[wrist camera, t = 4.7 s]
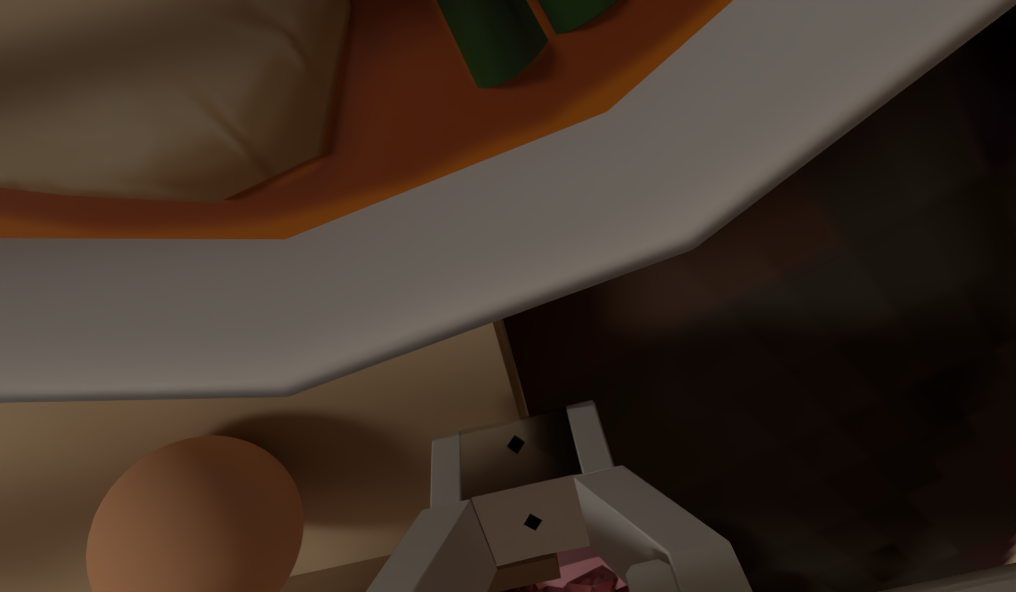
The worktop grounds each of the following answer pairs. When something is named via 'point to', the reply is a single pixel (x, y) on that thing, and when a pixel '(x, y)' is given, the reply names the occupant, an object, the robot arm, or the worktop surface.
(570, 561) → the pastel sphere sculpture
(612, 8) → the ramen bowl
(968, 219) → the worktop surface
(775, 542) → the worktop surface
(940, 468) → the worktop surface
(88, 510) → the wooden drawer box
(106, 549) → the ball
